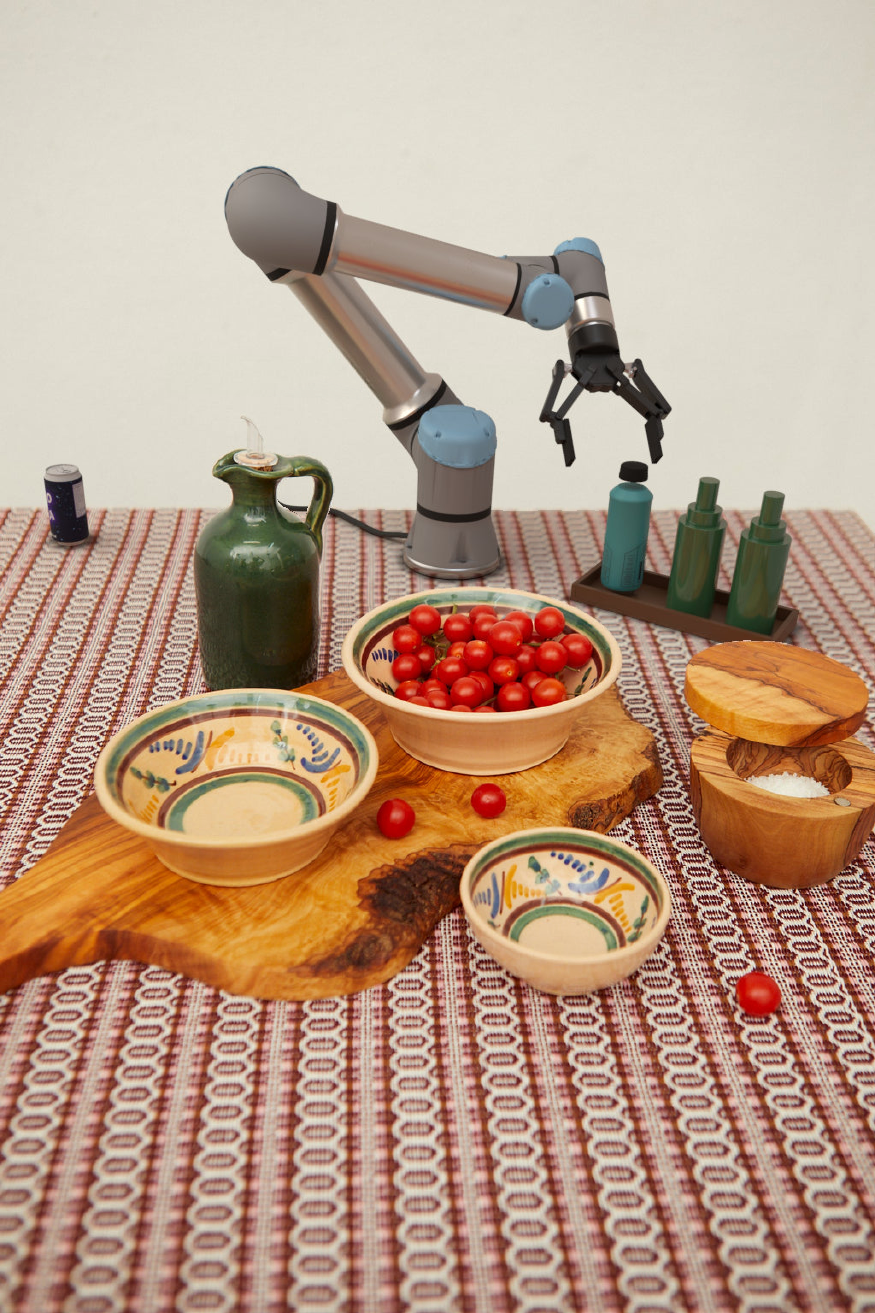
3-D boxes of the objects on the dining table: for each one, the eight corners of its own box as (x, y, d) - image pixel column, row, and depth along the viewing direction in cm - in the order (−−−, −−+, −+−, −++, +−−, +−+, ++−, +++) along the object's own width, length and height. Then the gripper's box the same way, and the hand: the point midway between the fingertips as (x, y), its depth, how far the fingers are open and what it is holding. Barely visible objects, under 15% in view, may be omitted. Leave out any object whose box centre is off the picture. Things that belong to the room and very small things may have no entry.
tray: (569, 599, 163) (571, 583, 162) (602, 573, 172) (603, 558, 170) (772, 657, 149) (775, 640, 148) (796, 626, 158) (799, 609, 157)
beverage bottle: (640, 603, 161) (658, 473, 152) (595, 597, 162) (610, 468, 153) (642, 585, 167) (659, 458, 157) (598, 580, 168) (613, 454, 158)
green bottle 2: (717, 629, 155) (741, 495, 145) (733, 612, 160) (757, 481, 150) (764, 642, 151) (792, 506, 142) (779, 624, 157) (806, 492, 147)
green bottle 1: (657, 613, 159) (677, 481, 149) (674, 596, 164) (694, 468, 154) (702, 625, 156) (725, 491, 146) (718, 608, 161) (741, 478, 151)
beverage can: (74, 531, 178) (65, 460, 173) (97, 540, 176) (88, 468, 170) (45, 541, 174) (34, 469, 169) (68, 550, 172) (58, 477, 166)
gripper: (658, 347, 173) (683, 469, 168) (507, 349, 168) (527, 475, 163) (676, 320, 166) (702, 446, 161) (519, 321, 161) (540, 452, 156)
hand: (614, 461), depth 162 cm, fingers open, 13 cm apart
